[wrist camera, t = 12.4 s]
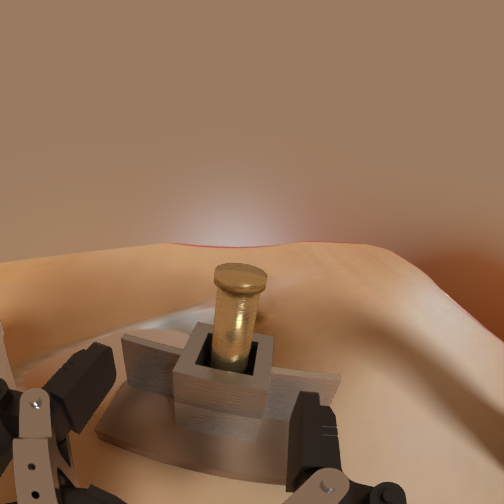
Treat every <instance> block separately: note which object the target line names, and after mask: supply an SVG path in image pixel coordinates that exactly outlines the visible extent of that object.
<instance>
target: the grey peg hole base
mask: <svg viewBox="0 0 504 504" xmlns="http://www.w3.org/2000/svg"><path fill="white" fill-rule="evenodd" d="M95 431H96V434H97V436H98V438H100V439H102V440H104V441H106V442H109V443H111V444H114V445H116V446H118V447H121V448H123V449H126V450H129V451H131V452H134V453H137V454H140V455H142V456H145V457H148V458H151V459H154V460H157V461H161V462H164V463H167V464H171V465H174V466H178V467H181V468H185V469H189V470H193V471H197V472H201V473H206V474H210V475H215V476H220V477H226V478H231V479H237V480H244V481H251V482H258V483H267V484H277V485H286V477H287V459H288V435H289V421H287V420H278V419H271V418H263V417H262V420H261V424H260V427H259V431H258V434H257V438H256V441H255V442H251V441H245V440H239V439H233V438H228V437H223V436H218V435H213V434H208V433H204V432H200V431H195V430H191V429H187V428H183V427H180V426H176V422H175V409H174V399H172V398H168V397H165V396H161V395H158V394H155V393H151V392H148V391H145V390H142V389H139V388H136V387H133V386H130V385H128V380H126V382H125V383H124V385H123V386H122V388H121V389H120V391H119V392H118V394H117V395H116V397H115V398H114V400H113V401H112V403H111V404H110V406H109V407H108V409H107V411H106V412H105V414H104V415H103V417H102V418H101V420H100V421H99V423H98V425H97V426H96V428H95Z"/></svg>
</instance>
